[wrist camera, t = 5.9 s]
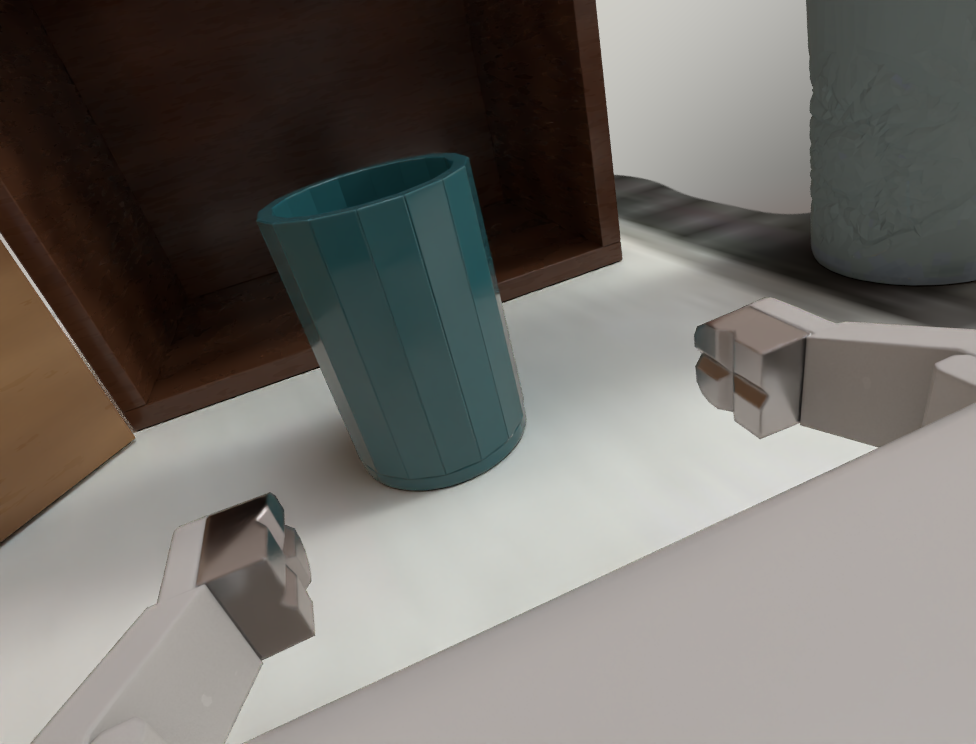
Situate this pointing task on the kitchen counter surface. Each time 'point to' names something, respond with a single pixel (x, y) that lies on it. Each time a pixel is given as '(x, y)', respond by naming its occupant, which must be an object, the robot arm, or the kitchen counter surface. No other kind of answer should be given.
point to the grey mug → (893, 139)
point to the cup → (403, 316)
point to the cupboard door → (45, 406)
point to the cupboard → (275, 161)
